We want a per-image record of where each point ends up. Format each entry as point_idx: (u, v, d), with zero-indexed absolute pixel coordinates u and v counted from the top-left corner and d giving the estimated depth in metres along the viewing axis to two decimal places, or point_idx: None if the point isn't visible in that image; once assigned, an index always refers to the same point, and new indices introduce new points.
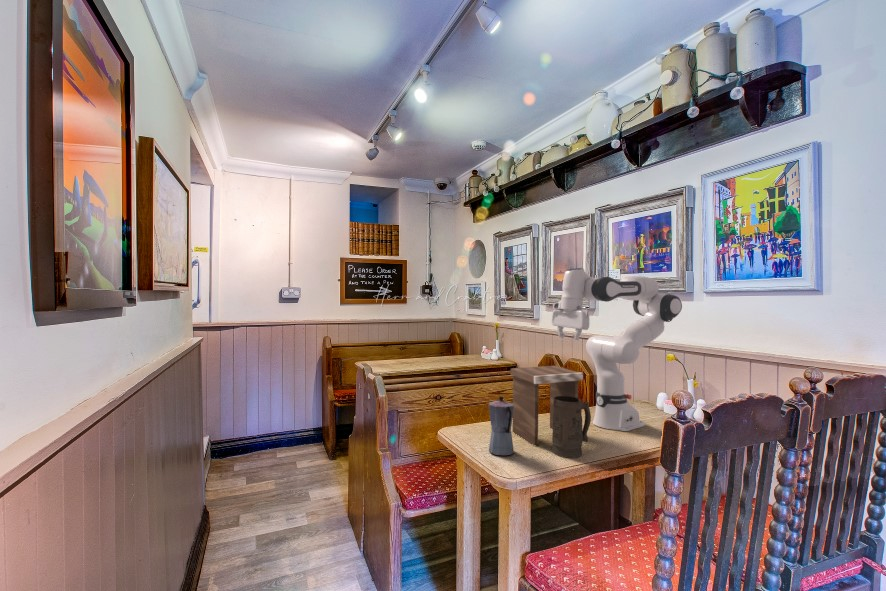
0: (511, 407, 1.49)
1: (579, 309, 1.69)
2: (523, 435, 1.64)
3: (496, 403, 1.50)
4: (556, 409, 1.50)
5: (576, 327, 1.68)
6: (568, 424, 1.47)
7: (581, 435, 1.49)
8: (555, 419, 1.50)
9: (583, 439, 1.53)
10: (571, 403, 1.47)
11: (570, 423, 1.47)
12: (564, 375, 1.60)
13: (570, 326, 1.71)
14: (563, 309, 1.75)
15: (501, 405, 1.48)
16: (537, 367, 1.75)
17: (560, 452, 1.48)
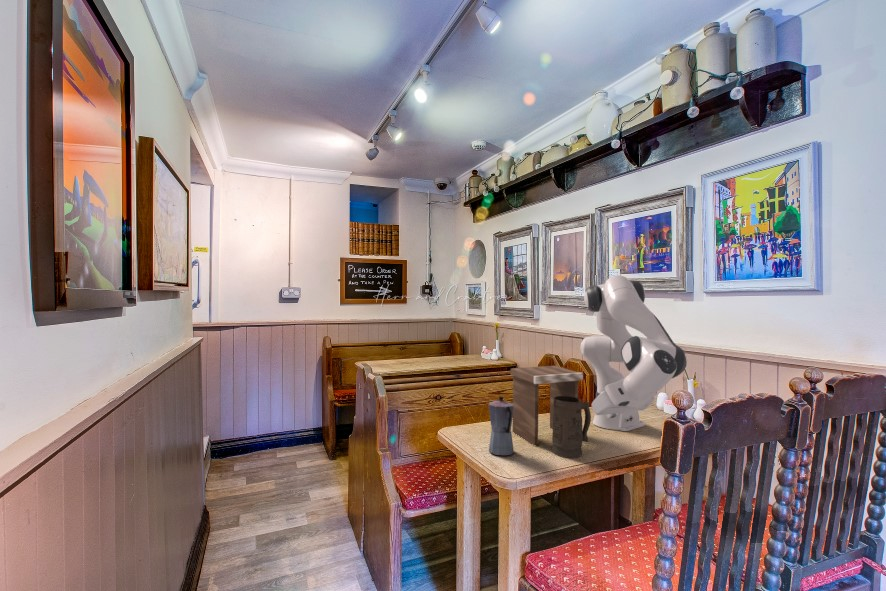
0: (511, 407, 1.49)
1: None
2: (523, 435, 1.64)
3: (496, 403, 1.50)
4: (556, 409, 1.50)
5: (637, 410, 1.32)
6: (568, 424, 1.47)
7: (581, 435, 1.49)
8: (555, 419, 1.50)
9: (583, 439, 1.53)
10: (571, 403, 1.47)
11: (570, 423, 1.47)
12: (564, 375, 1.60)
13: (628, 411, 1.31)
14: None
15: (501, 405, 1.48)
16: (537, 367, 1.75)
17: (560, 452, 1.48)
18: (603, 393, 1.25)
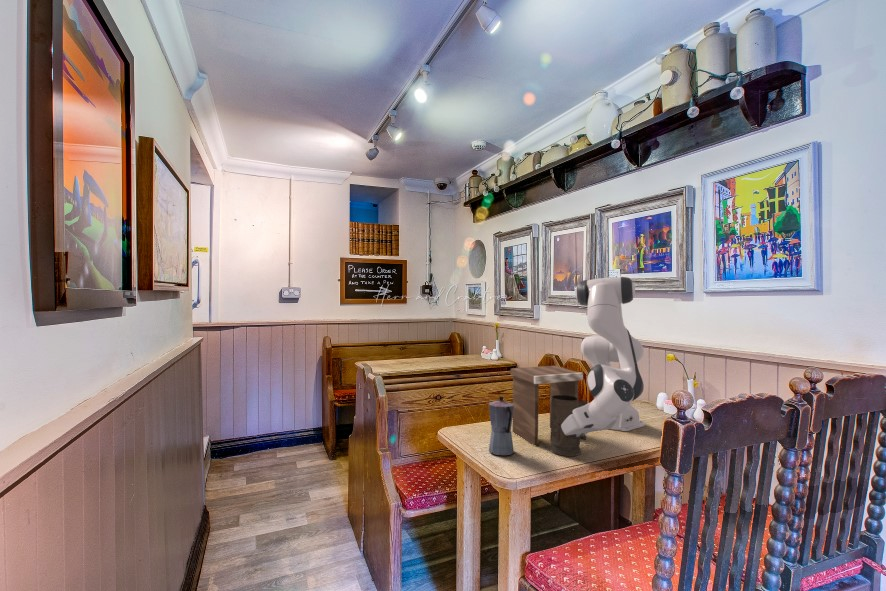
0: (511, 407, 1.49)
1: None
2: (523, 435, 1.64)
3: (496, 403, 1.50)
4: (554, 408, 1.51)
5: (602, 429, 1.47)
6: None
7: None
8: (553, 418, 1.51)
9: (581, 438, 1.54)
10: (569, 401, 1.48)
11: None
12: (564, 375, 1.60)
13: None
14: None
15: (501, 405, 1.48)
16: (537, 367, 1.75)
17: (558, 450, 1.49)
18: (571, 416, 1.40)
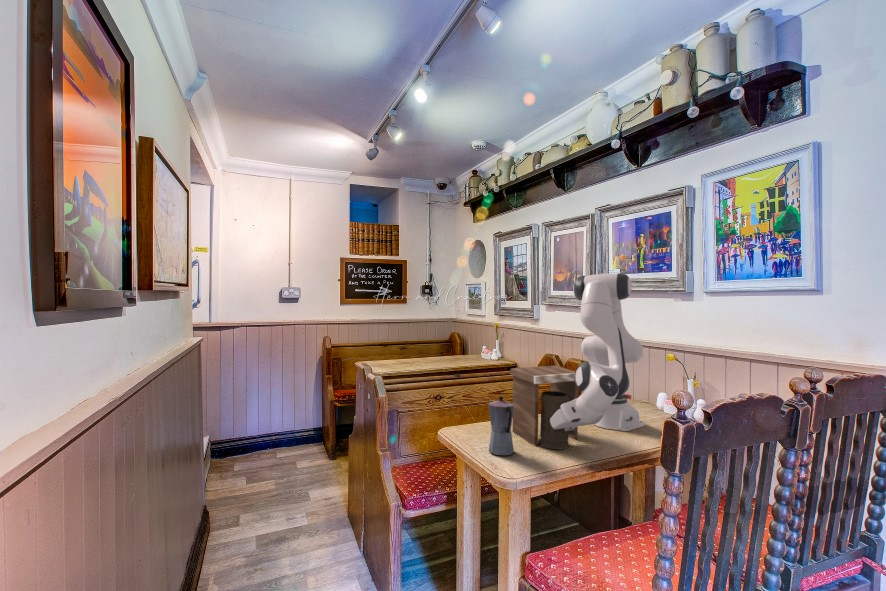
0: (511, 407, 1.49)
1: None
2: (523, 435, 1.64)
3: (496, 403, 1.50)
4: (543, 403, 1.57)
5: (590, 424, 1.53)
6: None
7: None
8: (542, 413, 1.57)
9: (570, 432, 1.60)
10: (558, 396, 1.54)
11: None
12: (564, 375, 1.60)
13: (582, 425, 1.51)
14: None
15: (501, 405, 1.48)
16: (537, 367, 1.75)
17: (547, 444, 1.54)
18: (559, 411, 1.45)
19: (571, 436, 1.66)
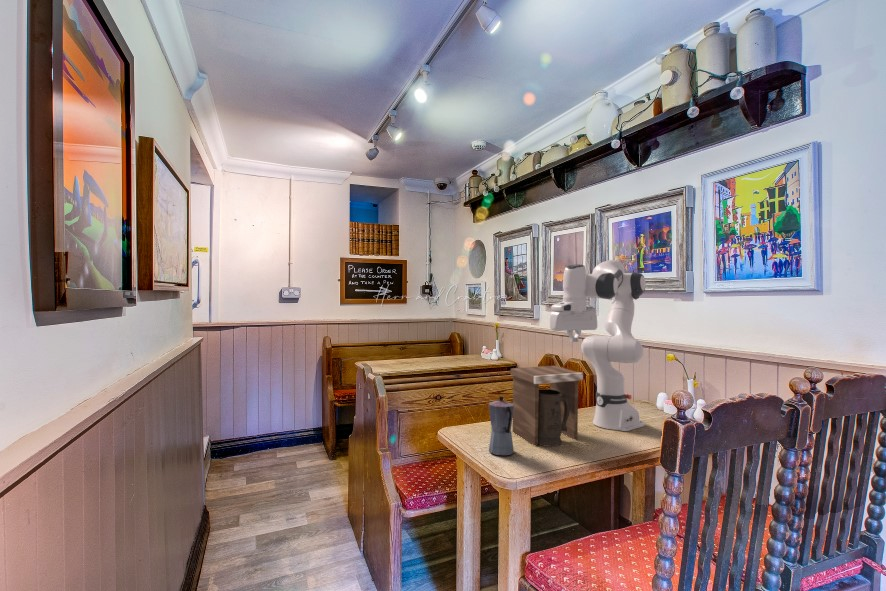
0: (511, 407, 1.49)
1: (586, 309, 1.62)
2: (523, 435, 1.64)
3: (496, 403, 1.50)
4: None
5: (590, 328, 1.62)
6: (548, 415, 1.57)
7: (560, 425, 1.60)
8: None
9: (562, 429, 1.64)
10: (551, 395, 1.57)
11: (549, 414, 1.57)
12: (564, 375, 1.60)
13: (583, 328, 1.60)
14: (576, 311, 1.58)
15: (501, 405, 1.48)
16: (537, 367, 1.75)
17: (540, 441, 1.58)
18: (552, 312, 1.59)
19: (571, 436, 1.66)
